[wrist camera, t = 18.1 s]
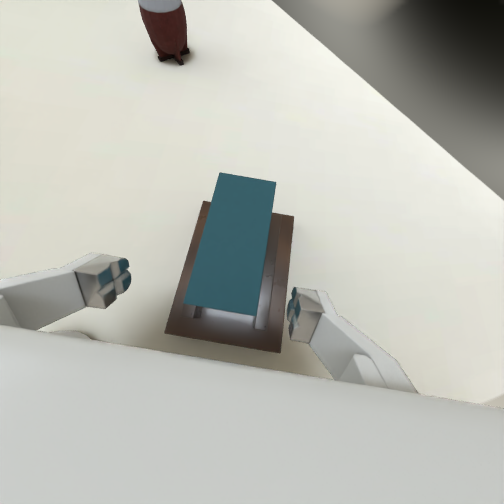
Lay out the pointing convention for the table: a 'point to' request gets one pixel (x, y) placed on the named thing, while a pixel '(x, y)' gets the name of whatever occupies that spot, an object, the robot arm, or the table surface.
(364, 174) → the table surface
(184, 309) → the board
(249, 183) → the back pad
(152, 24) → the mate gourd
